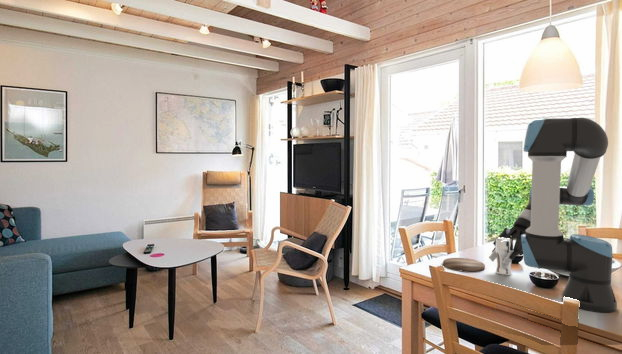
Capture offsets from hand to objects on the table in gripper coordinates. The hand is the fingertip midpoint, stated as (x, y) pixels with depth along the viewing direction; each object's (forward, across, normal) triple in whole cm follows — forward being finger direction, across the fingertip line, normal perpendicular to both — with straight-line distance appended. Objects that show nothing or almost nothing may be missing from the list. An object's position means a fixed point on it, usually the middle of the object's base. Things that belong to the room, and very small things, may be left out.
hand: (497, 261), depth 158 cm
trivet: (+7, +15, 0) cm, 17 cm away
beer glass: (+1, 0, -6) cm, 7 cm away
